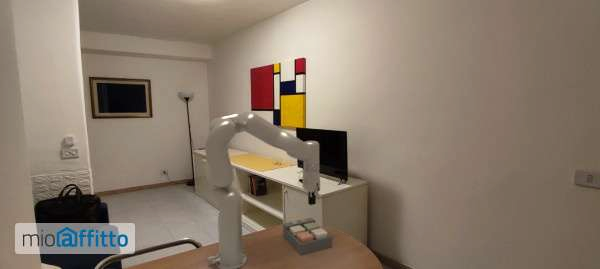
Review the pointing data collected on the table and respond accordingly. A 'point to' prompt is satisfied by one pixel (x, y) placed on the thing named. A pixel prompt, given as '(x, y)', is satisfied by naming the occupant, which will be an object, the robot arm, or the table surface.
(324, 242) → the keypad
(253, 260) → the table surface
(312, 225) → the key sage
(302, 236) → the key terracotta
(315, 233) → the key cream right
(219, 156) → the robot arm
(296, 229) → the key cream left
